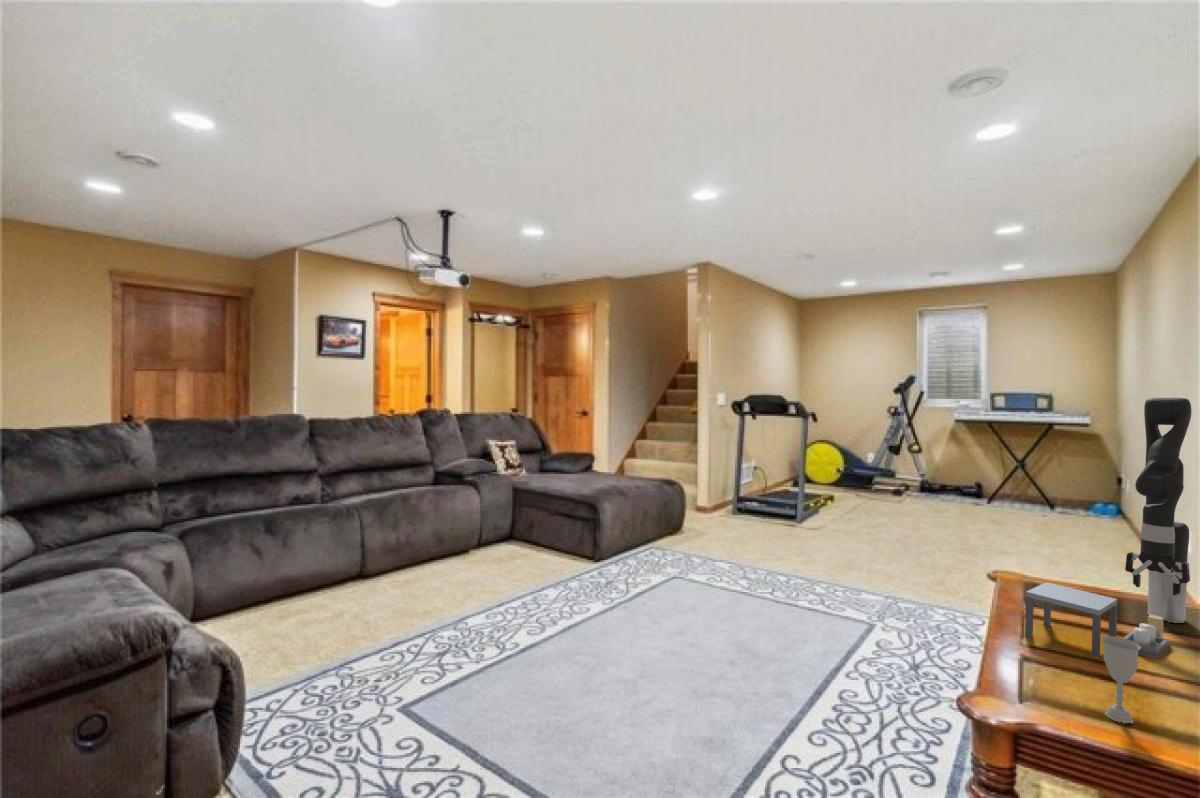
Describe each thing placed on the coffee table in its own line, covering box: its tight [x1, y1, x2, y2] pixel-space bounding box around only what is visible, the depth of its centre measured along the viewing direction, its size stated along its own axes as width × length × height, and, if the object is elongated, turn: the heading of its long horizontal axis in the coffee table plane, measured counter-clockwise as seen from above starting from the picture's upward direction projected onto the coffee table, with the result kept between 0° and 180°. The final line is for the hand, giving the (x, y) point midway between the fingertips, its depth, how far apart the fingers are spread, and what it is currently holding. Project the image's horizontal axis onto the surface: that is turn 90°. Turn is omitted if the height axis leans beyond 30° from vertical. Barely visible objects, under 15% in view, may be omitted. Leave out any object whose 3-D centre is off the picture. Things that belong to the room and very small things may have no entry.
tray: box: [1123, 614, 1169, 660], centre depth 174 cm, size 18×8×7 cm, turn 124°
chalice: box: [1101, 635, 1141, 725], centre depth 135 cm, size 7×7×18 cm
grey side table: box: [1024, 581, 1118, 659], centre depth 177 cm, size 16×18×14 cm
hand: (1156, 590), depth 178 cm, fingers open, 8 cm apart
